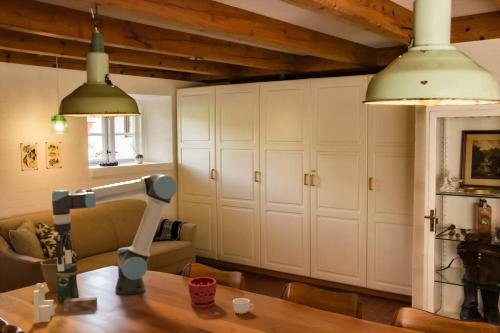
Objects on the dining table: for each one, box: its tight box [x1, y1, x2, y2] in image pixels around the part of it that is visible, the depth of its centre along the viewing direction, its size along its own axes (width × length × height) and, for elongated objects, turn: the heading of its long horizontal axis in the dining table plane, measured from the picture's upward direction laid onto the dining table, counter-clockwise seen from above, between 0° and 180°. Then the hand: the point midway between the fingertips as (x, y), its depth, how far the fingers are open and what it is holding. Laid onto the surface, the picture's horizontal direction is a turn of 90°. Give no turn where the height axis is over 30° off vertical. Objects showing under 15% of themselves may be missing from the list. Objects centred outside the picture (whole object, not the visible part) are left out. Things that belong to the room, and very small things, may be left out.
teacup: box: [232, 297, 255, 315], centre depth 230 cm, size 10×8×5 cm
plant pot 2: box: [188, 276, 217, 309], centre depth 240 cm, size 13×13×12 cm
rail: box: [63, 296, 98, 313], centre depth 238 cm, size 14×4×5 cm, turn 97°
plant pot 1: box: [40, 257, 71, 294], centre depth 268 cm, size 15×15×16 cm
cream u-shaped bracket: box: [32, 282, 55, 324], centre depth 227 cm, size 6×10×16 cm, turn 7°
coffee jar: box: [56, 263, 80, 304], centre depth 251 cm, size 10×8×19 cm
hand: (65, 267), depth 240 cm, fingers open, 13 cm apart
